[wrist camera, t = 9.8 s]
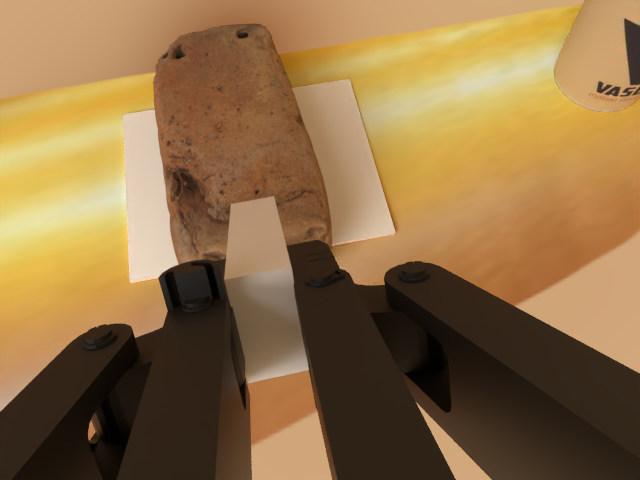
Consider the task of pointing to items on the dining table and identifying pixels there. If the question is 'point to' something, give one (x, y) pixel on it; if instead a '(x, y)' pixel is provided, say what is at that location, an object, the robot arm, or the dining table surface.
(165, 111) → the block
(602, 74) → the coffee cup
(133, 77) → the dining table surface
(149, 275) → the mat
